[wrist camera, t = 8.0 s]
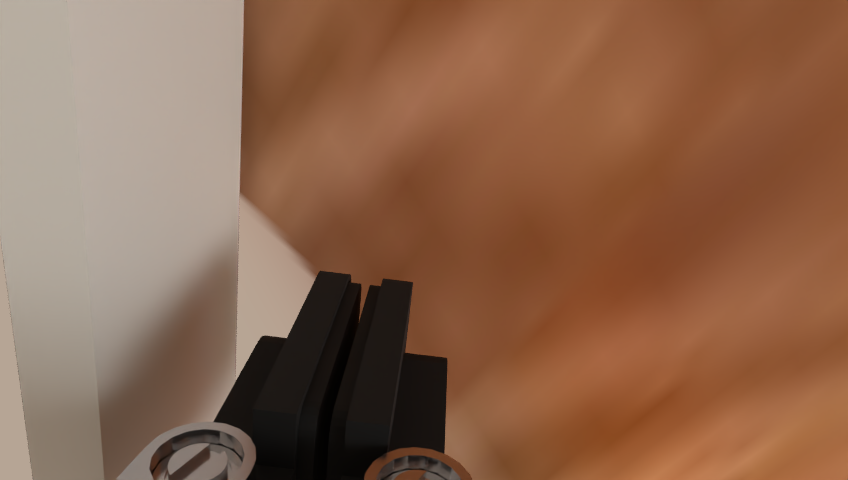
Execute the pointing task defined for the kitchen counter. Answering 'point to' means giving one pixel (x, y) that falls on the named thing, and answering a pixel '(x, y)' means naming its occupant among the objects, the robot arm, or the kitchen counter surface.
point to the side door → (119, 220)
